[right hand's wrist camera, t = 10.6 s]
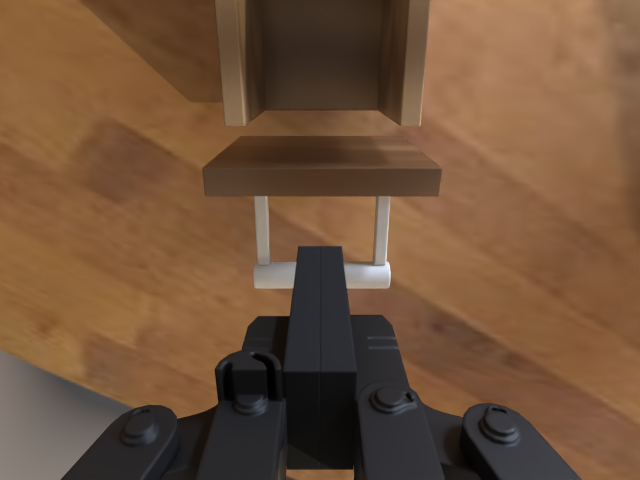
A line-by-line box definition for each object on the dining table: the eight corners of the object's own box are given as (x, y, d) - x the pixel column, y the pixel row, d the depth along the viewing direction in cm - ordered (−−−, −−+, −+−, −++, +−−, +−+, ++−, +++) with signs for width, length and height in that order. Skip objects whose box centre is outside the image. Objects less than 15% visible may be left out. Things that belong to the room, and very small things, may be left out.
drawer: (395, 242, 28) (427, 314, 19) (247, 242, 28) (217, 314, 19) (429, -237, 19) (512, -469, 11) (214, -238, 19) (135, -469, 11)
